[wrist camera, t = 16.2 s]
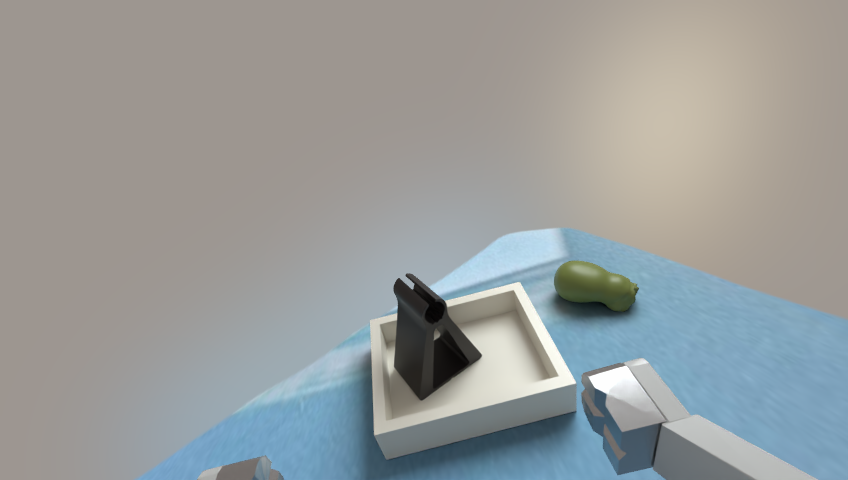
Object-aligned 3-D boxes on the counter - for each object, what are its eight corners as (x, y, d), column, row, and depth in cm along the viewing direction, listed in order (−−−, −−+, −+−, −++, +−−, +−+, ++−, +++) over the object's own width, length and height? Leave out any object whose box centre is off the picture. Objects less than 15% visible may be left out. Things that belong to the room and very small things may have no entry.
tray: (386, 460, 41) (374, 435, 38) (379, 343, 54) (370, 320, 52) (576, 410, 41) (576, 383, 38) (522, 307, 54) (519, 281, 52)
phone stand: (453, 330, 52) (435, 256, 46) (482, 357, 47) (467, 280, 41) (394, 368, 49) (366, 295, 42) (420, 401, 44) (393, 325, 38)
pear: (561, 248, 54) (643, 266, 50) (555, 277, 57) (632, 296, 54) (553, 274, 50) (641, 295, 46) (547, 304, 53) (630, 326, 50)
